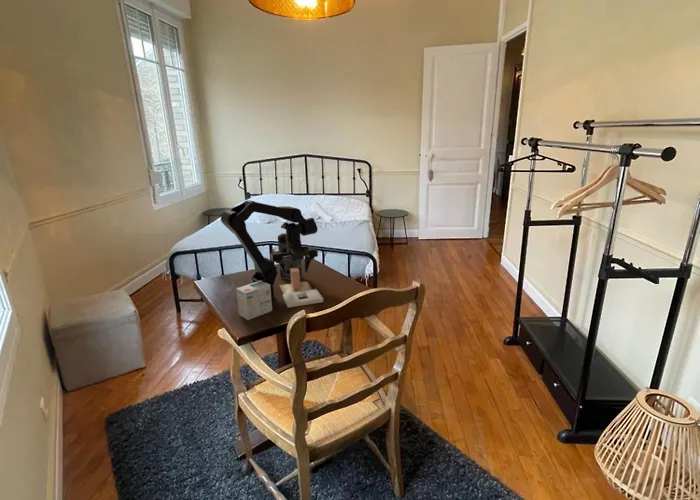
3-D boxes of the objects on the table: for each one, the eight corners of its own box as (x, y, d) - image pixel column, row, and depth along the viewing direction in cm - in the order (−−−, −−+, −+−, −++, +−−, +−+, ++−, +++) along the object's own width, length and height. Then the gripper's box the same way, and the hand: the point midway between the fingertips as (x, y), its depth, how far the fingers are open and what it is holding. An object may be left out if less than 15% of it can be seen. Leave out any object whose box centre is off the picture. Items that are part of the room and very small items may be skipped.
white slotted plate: (287, 307, 145) (287, 304, 145) (282, 297, 154) (282, 294, 154) (323, 301, 150) (323, 298, 150) (316, 292, 159) (316, 289, 159)
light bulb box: (262, 305, 147) (260, 279, 144) (273, 311, 143) (271, 284, 140) (237, 315, 140) (235, 287, 137) (248, 320, 136) (245, 292, 132)
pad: (284, 295, 157) (284, 293, 156) (279, 286, 166) (279, 285, 165) (312, 291, 161) (312, 289, 160) (306, 282, 170) (306, 281, 169)
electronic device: (279, 278, 175) (276, 236, 169) (284, 274, 180) (282, 233, 174) (297, 280, 172) (295, 237, 166) (303, 276, 177) (301, 234, 172)
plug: (293, 289, 160) (292, 271, 158) (291, 286, 164) (290, 268, 162) (300, 288, 161) (299, 271, 159) (298, 285, 165) (297, 267, 163)
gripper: (274, 245, 146) (276, 283, 151) (321, 240, 152) (322, 277, 157) (269, 238, 156) (271, 274, 161) (313, 233, 162) (314, 268, 167)
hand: (295, 273), depth 161 cm, fingers open, 9 cm apart
